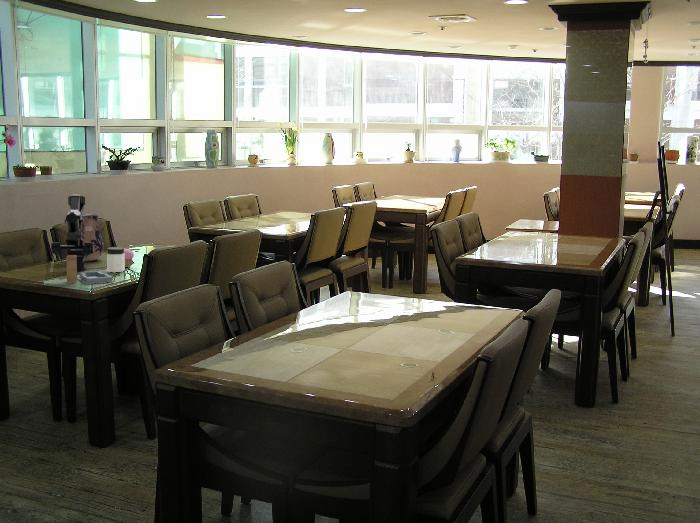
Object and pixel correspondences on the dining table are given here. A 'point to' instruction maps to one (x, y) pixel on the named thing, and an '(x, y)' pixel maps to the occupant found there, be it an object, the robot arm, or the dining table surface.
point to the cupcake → (128, 257)
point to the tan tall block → (71, 268)
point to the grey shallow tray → (94, 277)
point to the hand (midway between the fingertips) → (71, 262)
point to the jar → (115, 259)
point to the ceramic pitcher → (92, 235)
